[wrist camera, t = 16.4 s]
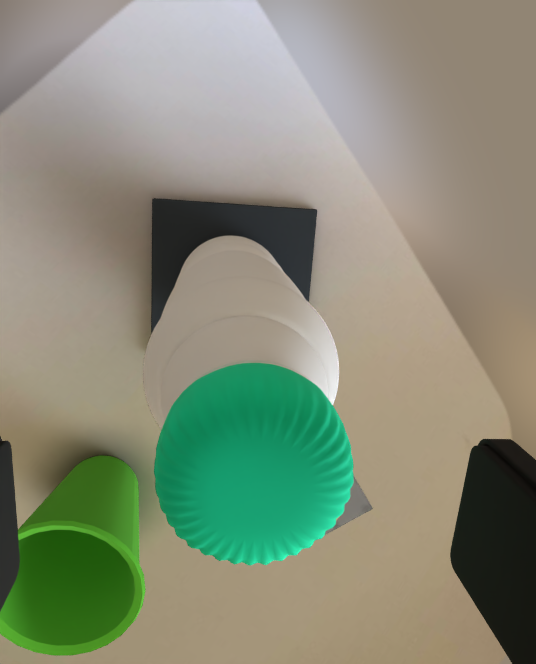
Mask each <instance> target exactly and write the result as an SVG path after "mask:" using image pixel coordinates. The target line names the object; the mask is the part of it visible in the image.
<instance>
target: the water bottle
mask: <svg viewBox="0 0 536 664" xmlns="http://www.w3.org/2000/svg"><path fill="white" fill-rule="evenodd" d="M338 382H339V362H338V355H337V350H336V346H335V343H334V340H333V337H332V335H331V333H330V331H329V329H328V327H327V325H326V323H325V322H324V320H323V318H322V317H321V316H320V314H319V313H318V312H317V311H316V310H315V308H314V307H313V306H312V305H311V304H310V303H309V302H308V301H307V300H306V299H305V298H304V296H303V295H302V293H301V292H300V291H299V289H298V288H297V287H296V285H295V284H294V283H293V282H292V281H291V279H290V278H289V277H288V276H287V275H286V274H285V273H284V271H283V270H282V268H281V267H280V266H279V264H278V263H277V262H276V260H275V259H274V258H273V256H272V255H271V254H270V253H269V252H268V251H267V250H266V249H265V248H264V247H263V246H261V245H260V244H258V243H257V242H255V241H253V240H250V239H248V238H245V237H240V236H220V237H216V238H213V239H210V240H208V241H206V242H204V243H203V244H201V245H200V246H198V247H197V248H196V249H195V250H194V251H193V252H192V253H191V254H190V255H189V257H188V258H187V259H186V261H185V263H184V265H183V267H182V269H181V272H180V274H179V276H178V279H177V281H176V284H175V287H174V289H173V290H172V292H171V294H170V296H169V298H168V300H167V303H166V305H165V307H164V310H163V313H162V316H161V318H160V320H159V321H158V323H157V325H156V326H155V328H154V330H153V332H152V334H151V337H150V339H149V342H148V345H147V348H146V352H145V357H144V363H143V384H144V391H145V395H146V399H147V403H148V406H149V408H150V411H151V413H152V415H153V417H154V419H155V421H156V422H157V424H158V426H159V427H160V428H161V433H160V436H159V440H158V444H157V448H156V458H155V466H154V474H155V478H156V481H155V488H156V493H157V496H158V497H159V502H160V507H161V509H162V511H163V512H164V513H165V514H166V517H167V521H168V523H169V524H170V525H171V526H172V527H174V529H175V532H176V535H177V536H178V537H179V538H181V539H184V540H186V541H187V544H188V546H190V547H191V548H196V549H200V551H201V553H203V554H204V555H213V556H214V557H215V558H216V559H217V560H219V561H221V560H228V561H230V562H231V563H233V564H237V563H241V562H243V563H245V564H247V565H253V564H255V563H261V564H264V565H267V564H269V563H270V562H271V561H273V560H278V561H282V560H283V559H285V558H286V557H287V556H288V555H297V554H298V553H299V552H300V551H301V549H304V548H310V547H311V546H312V545H313V542H314V541H315V540H318V539H322V538H323V536H324V535H325V532H326V531H327V530H329V529H331V528H333V527H334V526H335V524H336V519H337V518H338V517H340V516H341V515H342V514H343V512H344V507H345V504H346V503H347V502H348V500H349V499H350V489H351V487H352V485H353V482H354V478H353V459H352V455H351V445H350V442H349V439H348V436H347V434H346V431H345V428H344V425H343V423H342V421H341V419H340V417H339V415H338V413H337V412H336V410H335V408H334V407H333V404H334V401H335V397H336V393H337V389H338Z"/></svg>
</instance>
